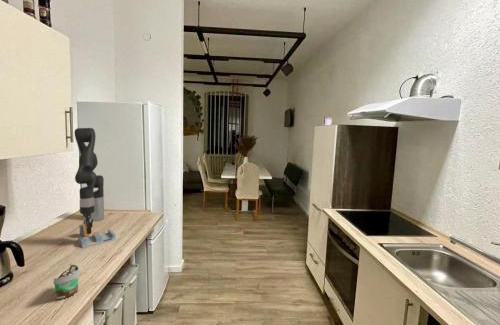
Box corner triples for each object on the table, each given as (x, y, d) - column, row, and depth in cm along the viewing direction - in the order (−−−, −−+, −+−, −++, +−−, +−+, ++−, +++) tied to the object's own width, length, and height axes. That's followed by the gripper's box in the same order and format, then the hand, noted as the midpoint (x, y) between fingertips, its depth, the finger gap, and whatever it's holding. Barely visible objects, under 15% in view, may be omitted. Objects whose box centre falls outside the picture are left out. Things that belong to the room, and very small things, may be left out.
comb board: (77, 240, 164) (77, 235, 164) (109, 233, 176) (109, 228, 176) (82, 248, 155) (82, 242, 154) (116, 240, 167) (115, 234, 166)
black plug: (79, 235, 171) (79, 225, 170) (87, 234, 174) (86, 223, 173) (81, 237, 168) (80, 227, 167) (88, 236, 171) (88, 225, 170)
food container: (70, 302, 108) (69, 279, 107) (54, 302, 107) (53, 279, 106) (86, 284, 120) (85, 263, 119) (72, 284, 119) (71, 263, 118)
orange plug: (83, 234, 162) (83, 223, 161) (91, 232, 164) (90, 221, 164) (85, 236, 159) (84, 224, 158) (92, 234, 162) (92, 223, 161)
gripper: (77, 203, 162) (78, 230, 164) (82, 208, 152) (83, 237, 154) (91, 201, 167) (92, 227, 169) (97, 206, 157) (98, 234, 159)
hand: (88, 232), depth 162 cm, fingers closed on orange plug, 4 cm apart
